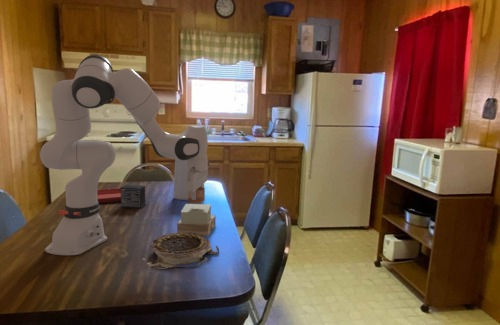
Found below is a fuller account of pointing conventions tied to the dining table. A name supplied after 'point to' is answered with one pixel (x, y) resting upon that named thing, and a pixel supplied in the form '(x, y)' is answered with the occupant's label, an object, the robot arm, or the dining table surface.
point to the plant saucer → (109, 195)
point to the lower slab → (197, 227)
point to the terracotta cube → (200, 196)
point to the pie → (180, 249)
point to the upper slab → (196, 214)
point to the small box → (132, 196)
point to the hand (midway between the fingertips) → (196, 197)
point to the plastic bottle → (180, 180)
